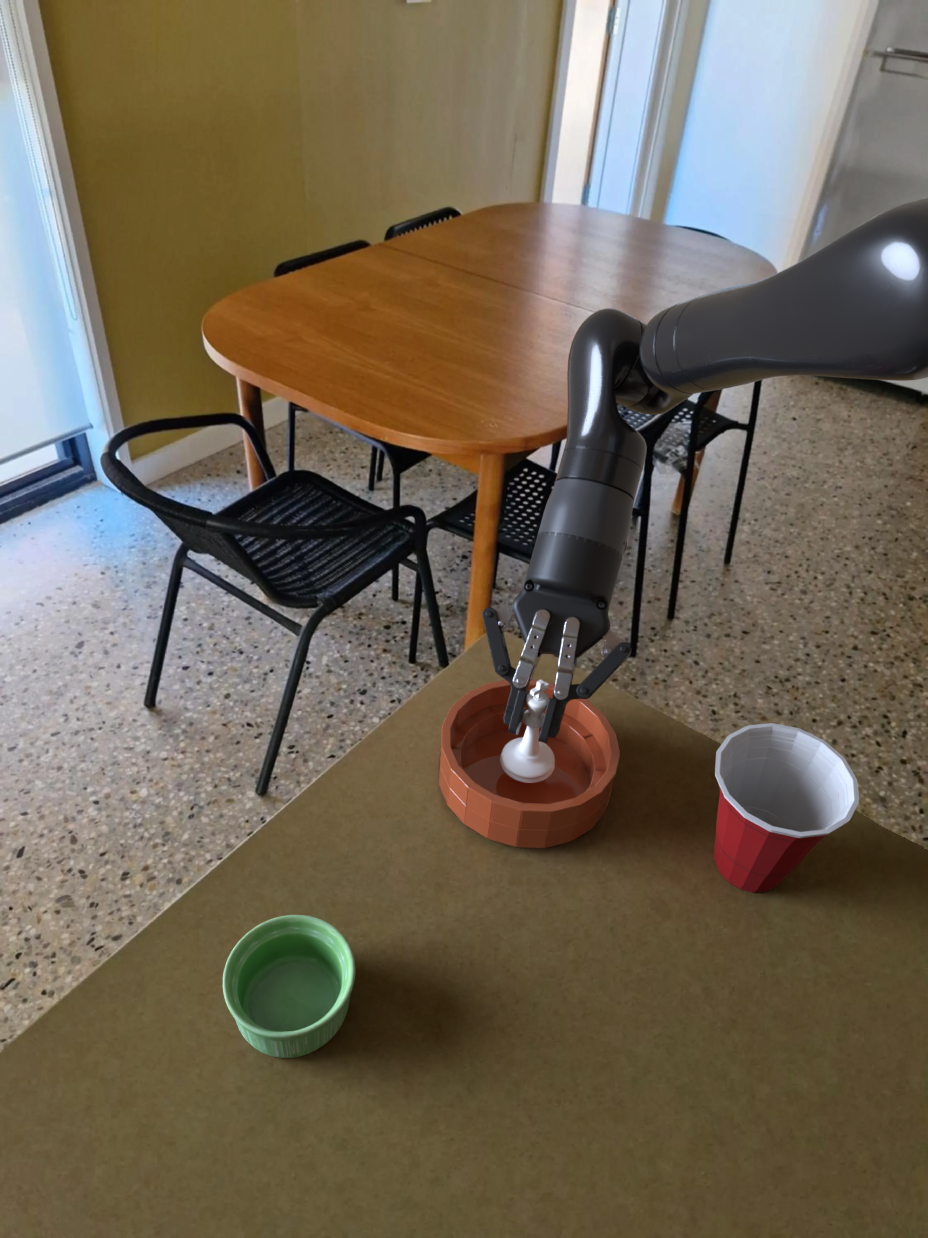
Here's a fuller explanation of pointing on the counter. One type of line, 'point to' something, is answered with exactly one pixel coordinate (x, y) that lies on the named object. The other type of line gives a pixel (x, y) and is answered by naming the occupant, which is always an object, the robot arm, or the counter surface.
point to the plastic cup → (776, 802)
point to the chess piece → (530, 743)
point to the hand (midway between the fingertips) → (528, 737)
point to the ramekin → (289, 984)
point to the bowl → (517, 806)
